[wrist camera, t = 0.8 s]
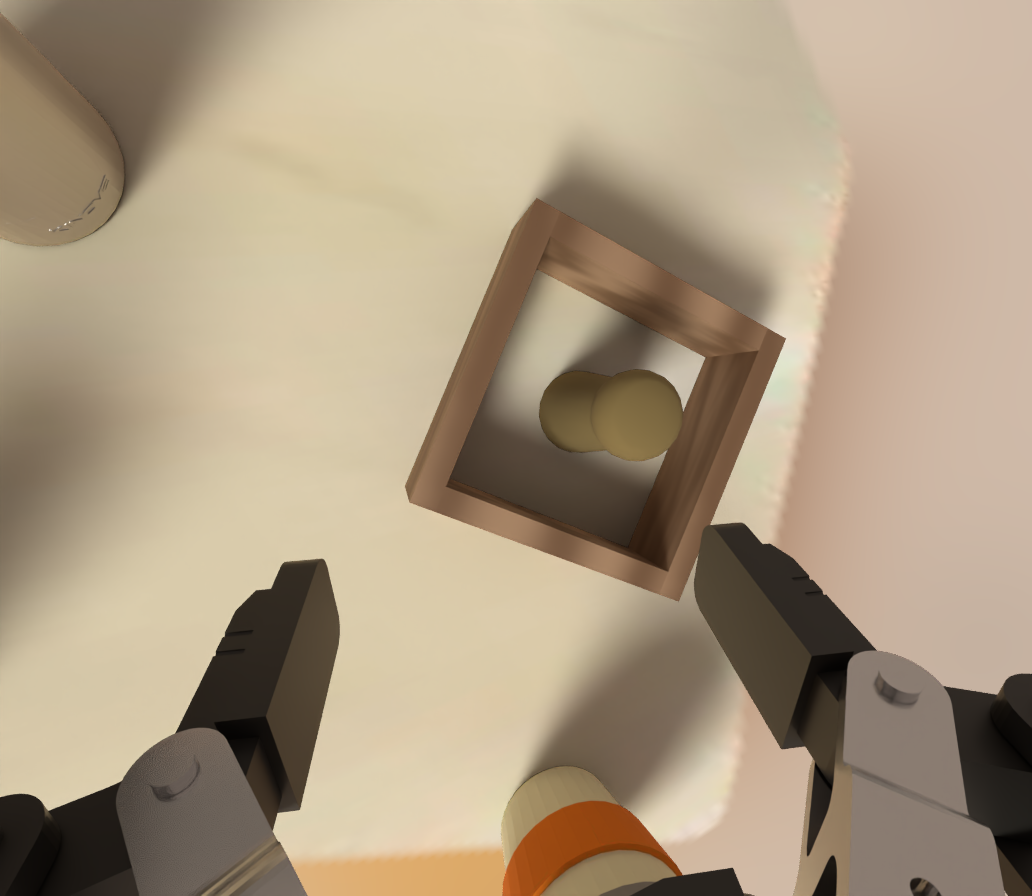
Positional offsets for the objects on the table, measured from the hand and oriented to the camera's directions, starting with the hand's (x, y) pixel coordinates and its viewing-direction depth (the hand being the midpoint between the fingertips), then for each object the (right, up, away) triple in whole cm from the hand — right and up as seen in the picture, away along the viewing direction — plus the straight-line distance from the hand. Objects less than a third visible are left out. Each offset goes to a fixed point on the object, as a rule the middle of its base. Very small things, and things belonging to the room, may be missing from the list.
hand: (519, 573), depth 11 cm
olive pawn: (+4, +5, +28) cm, 29 cm away
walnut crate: (+5, +5, +28) cm, 29 cm away
